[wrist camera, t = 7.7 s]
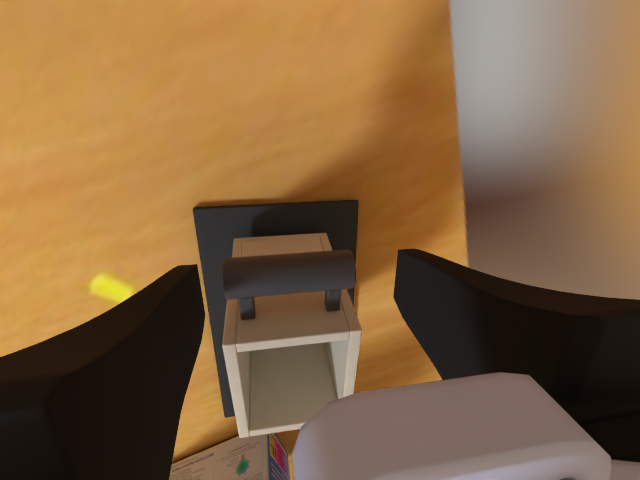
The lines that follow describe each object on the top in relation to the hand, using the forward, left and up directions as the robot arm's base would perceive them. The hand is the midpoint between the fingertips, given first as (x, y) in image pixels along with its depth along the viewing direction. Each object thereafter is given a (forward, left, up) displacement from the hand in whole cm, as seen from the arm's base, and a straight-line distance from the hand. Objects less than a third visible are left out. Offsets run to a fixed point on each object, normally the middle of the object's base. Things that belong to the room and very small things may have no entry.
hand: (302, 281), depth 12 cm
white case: (-7, -4, -5) cm, 10 cm away
